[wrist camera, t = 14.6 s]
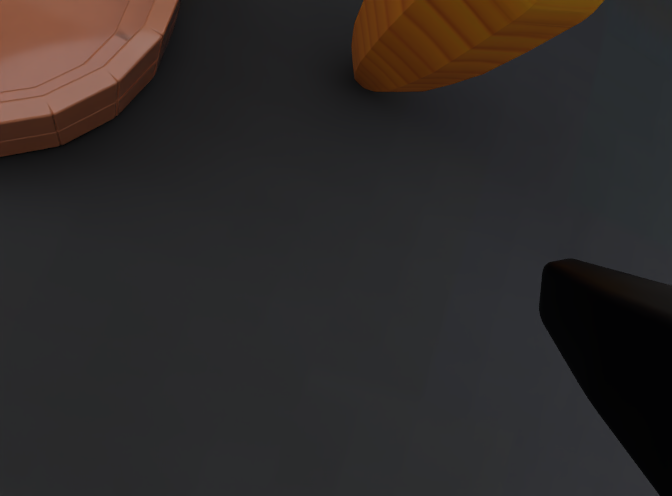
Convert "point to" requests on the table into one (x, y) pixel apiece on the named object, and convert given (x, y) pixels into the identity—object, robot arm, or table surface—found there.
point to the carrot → (451, 38)
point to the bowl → (74, 65)
